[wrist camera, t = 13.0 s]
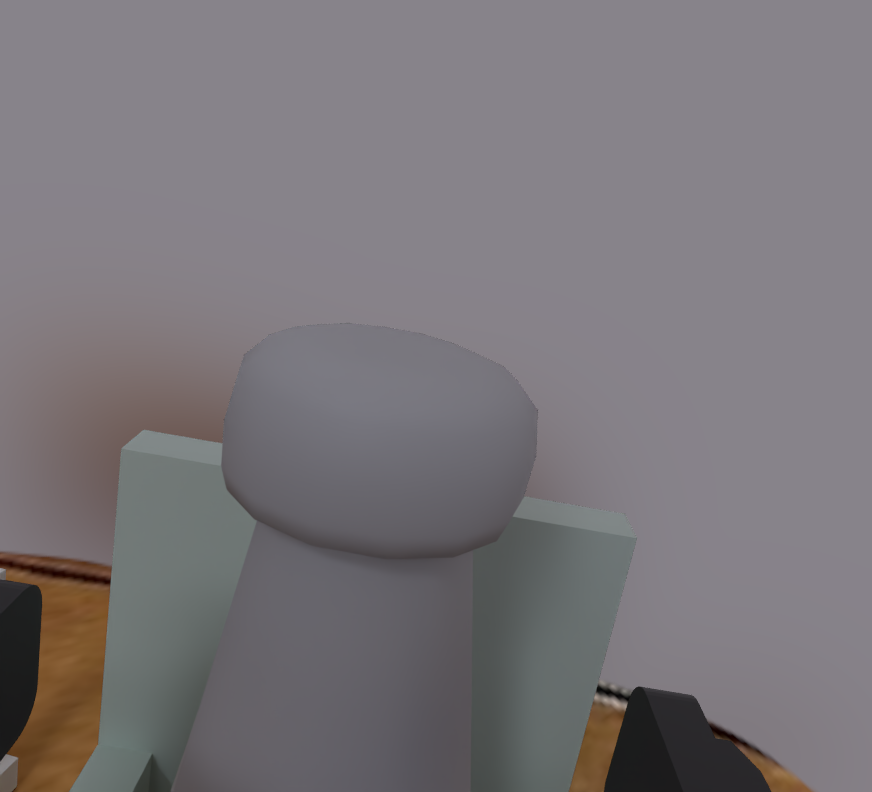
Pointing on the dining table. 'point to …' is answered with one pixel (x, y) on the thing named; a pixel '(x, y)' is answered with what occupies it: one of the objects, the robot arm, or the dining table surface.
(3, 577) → the clip
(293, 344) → the salt shaker
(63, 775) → the dining table surface
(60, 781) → the dining table surface
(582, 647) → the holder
